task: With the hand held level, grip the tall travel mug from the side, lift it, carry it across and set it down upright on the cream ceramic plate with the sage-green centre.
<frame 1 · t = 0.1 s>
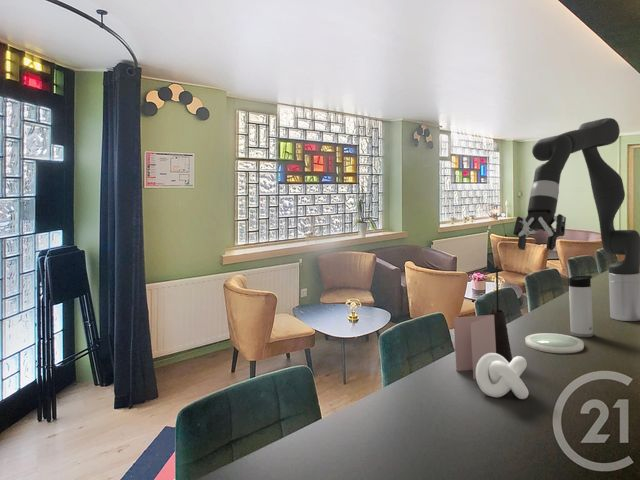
hand: (535, 249, 119), 31 cm above the bar counter, tool tilted 20°, fingers open, 8 cm apart
white decorative knot: (507, 396, 94), on the bar counter
greeting card: (481, 373, 108), on the bar counter
butter churn: (500, 359, 118), on the bar counter
travel mug: (582, 335, 134), on the bar counter
plate: (553, 344, 126), on the bar counter
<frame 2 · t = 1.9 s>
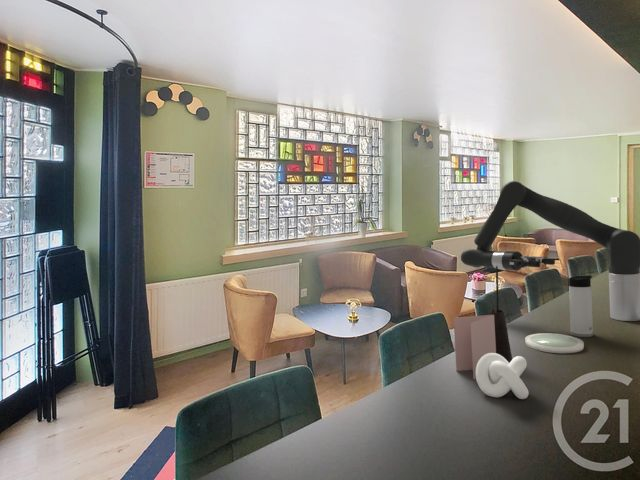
hand: (547, 262, 143), 24 cm above the bar counter, tool horizontal, fingers open, 8 cm apart
nothing on the bar counter moved.
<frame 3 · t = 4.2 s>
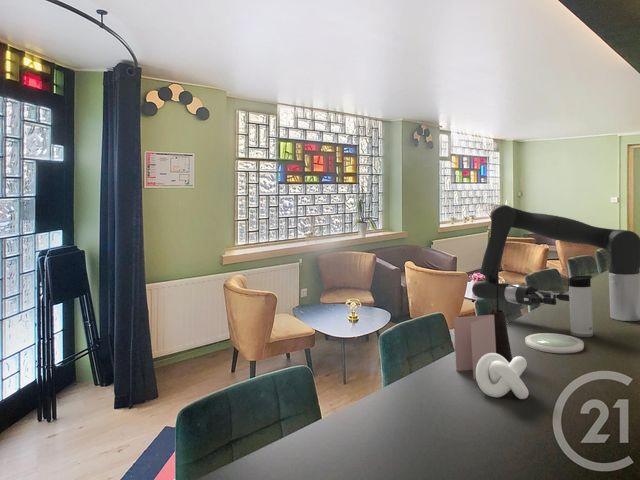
hand: (563, 300, 139), 11 cm above the bar counter, tool horizontal, fingers open, 8 cm apart
nothing on the bar counter moved.
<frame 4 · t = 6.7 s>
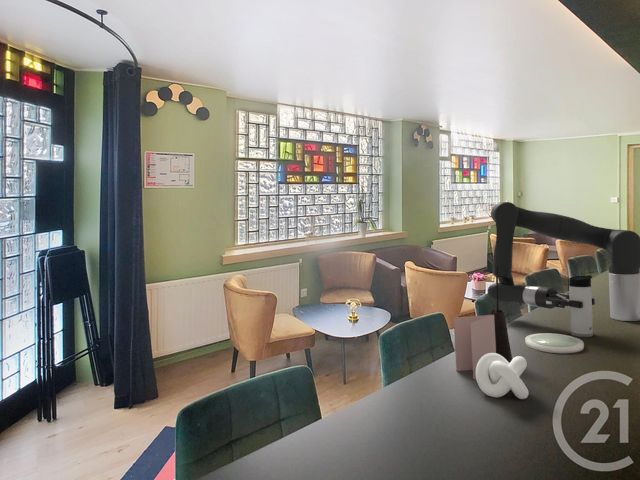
hand: (588, 303, 131), 11 cm above the bar counter, tool horizontal, fingers closed on travel mug, 6 cm apart
travel mug: (582, 335, 134), on the bar counter, touching gripper
everything else where it was.
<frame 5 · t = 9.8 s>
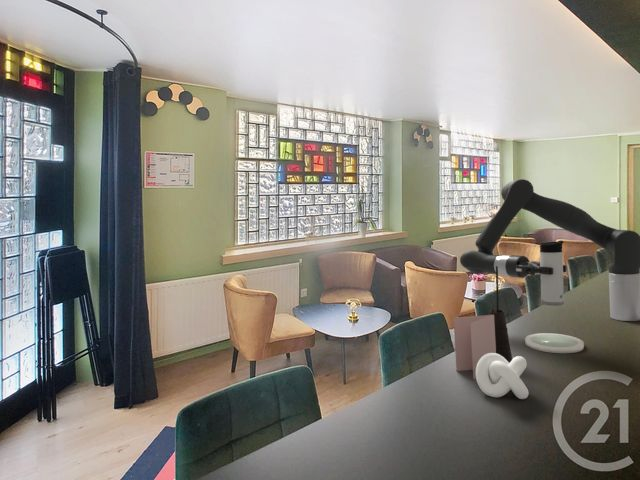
hand: (559, 270, 124), 24 cm above the bar counter, tool horizontal, fingers closed on travel mug, 6 cm apart
travel mug: (552, 304, 127), point 13 cm above the bar counter, touching gripper
everything else where it was.
when the fingers open (14 cm above the bar counter, at t = 12.9 s): travel mug stays where it is, resting on plate.
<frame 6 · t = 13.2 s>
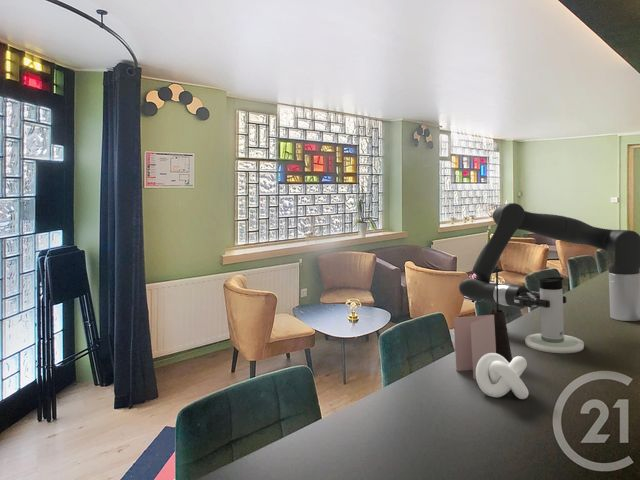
hand: (557, 302, 124), 14 cm above the bar counter, tool horizontal, fingers open, 8 cm apart
travel mug: (553, 340, 126), point 1 cm above the bar counter, touching plate
everything else where it was.
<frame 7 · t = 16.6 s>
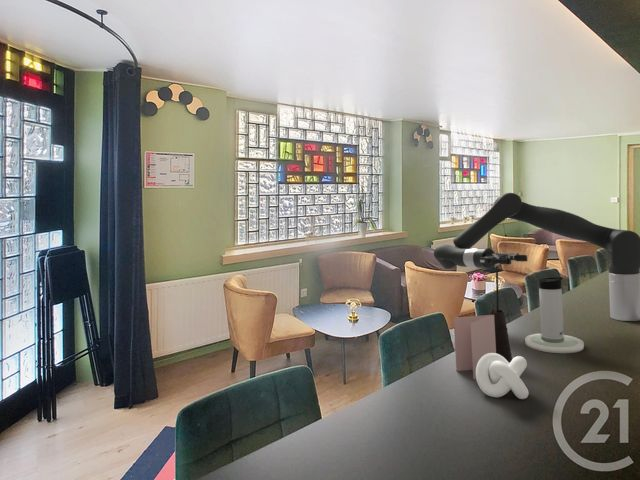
hand: (518, 259, 135), 27 cm above the bar counter, tool horizontal, fingers open, 8 cm apart
nothing on the bar counter moved.
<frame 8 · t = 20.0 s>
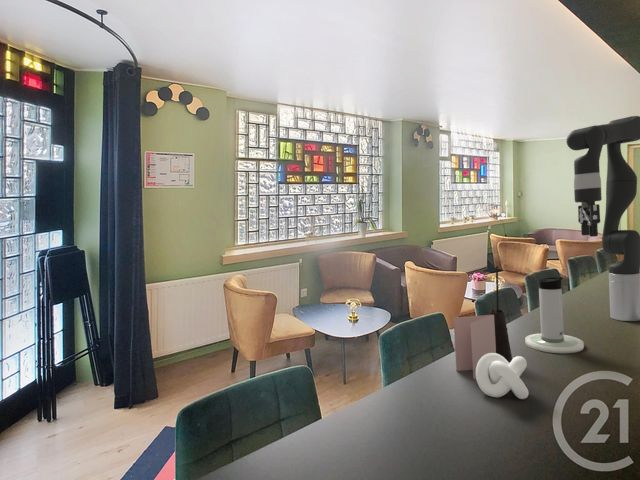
hand: (589, 235, 134), 33 cm above the bar counter, tool pointing down, fingers open, 8 cm apart
nothing on the bar counter moved.
at the end: travel mug inside the target area on the plate (0.3 cm from its centre), point 1.3 cm above the plate's base; travel mug tilted 0°; the gripper is holding nothing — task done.
